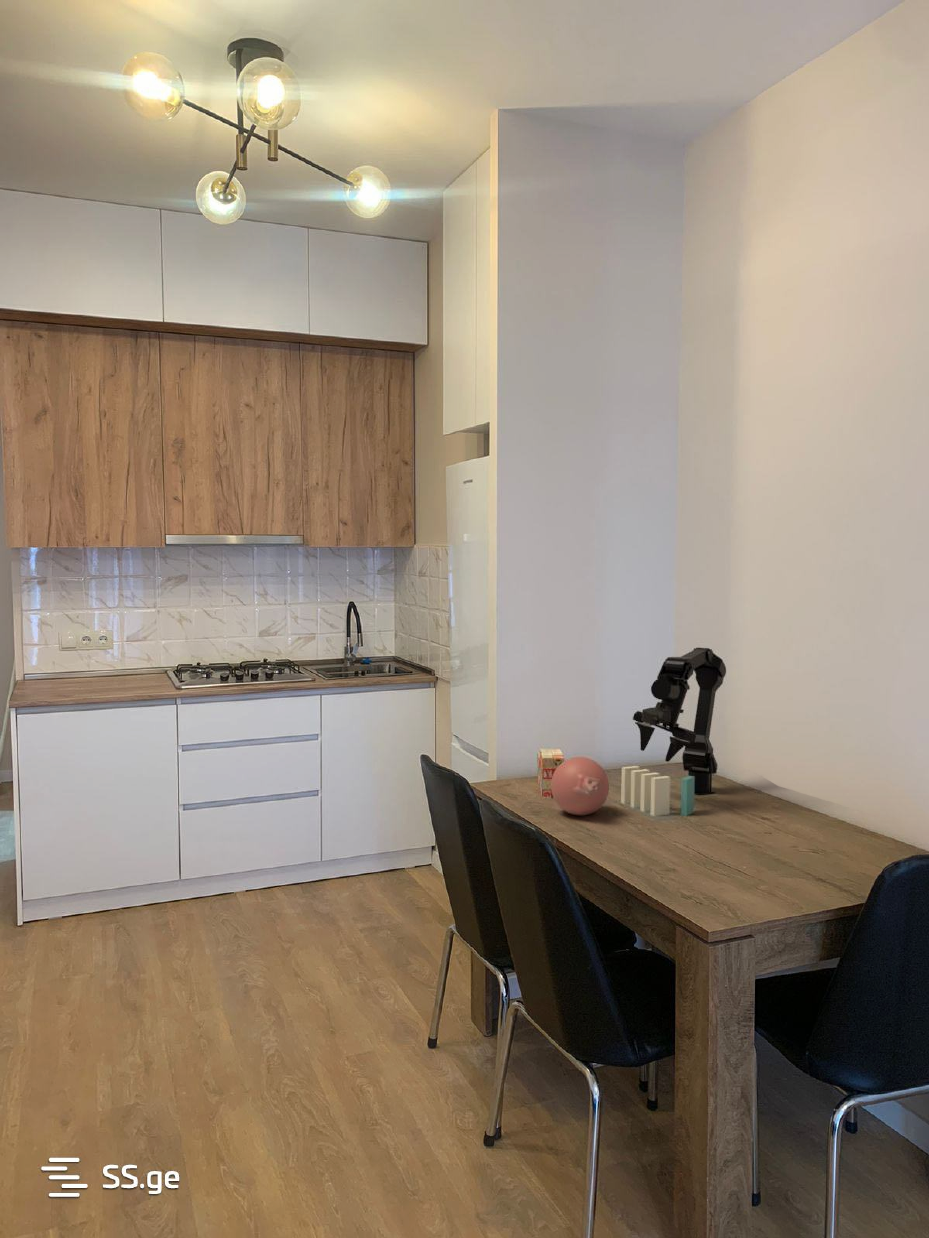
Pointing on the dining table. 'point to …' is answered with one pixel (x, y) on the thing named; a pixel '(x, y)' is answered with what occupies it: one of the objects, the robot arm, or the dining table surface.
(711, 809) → the dining table surface
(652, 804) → the domino
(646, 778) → the domino
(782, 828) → the dining table surface
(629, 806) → the domino mat
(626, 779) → the domino
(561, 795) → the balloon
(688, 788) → the teal domino
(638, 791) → the domino
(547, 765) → the stack of blocks
